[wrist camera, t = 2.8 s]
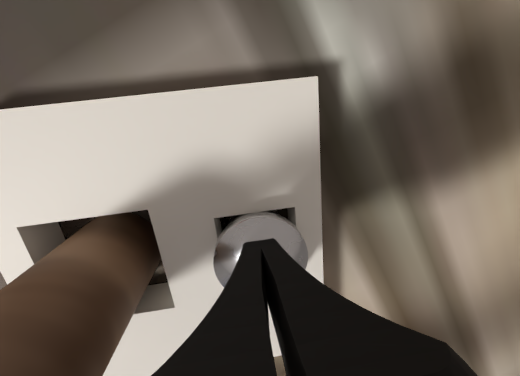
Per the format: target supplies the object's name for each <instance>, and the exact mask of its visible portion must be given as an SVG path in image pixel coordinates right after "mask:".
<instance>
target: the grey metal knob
mask: <svg viewBox="0 0 520 376" xmlns="http://www.w3.org/2000/svg"><path fill="white" fill-rule="evenodd" d="M272 238H274V239H275V240H277V242H278V243H279V244H280V245H281V246H282V248H283V249H284V250H285V251H286V252H287V253H288V254H289V255H290V256H291V257H292V258H293V259H294V260H295V261H296V262H297V263H298V264H299V265H300V266H302V267H303V268H304V269H305V270H306V267H307V262H308V250H307V246H306V243H305V241H304V239H303V237H302V235H301V233H300V232H299V230H298V229H297V227H296V226H295V225H294V224H293V223H292V222H291V221H289V220H288V219H286V218H285V217H282V216H280V214H279V213H278V212H277V210H269V211H262V212H255V213H248V214H241V215H233V216H231V218H230V220H229V222H228V226H227V227H226V228H225V229H224V230H223V231H222V233H221V234H220V236H219V238H218V239H217V242H216V246H215V251H214V258H213V265H214V271H215V274H216V277H217V279H218V280H219V282H220V283H221V285H222V286H223V287H225V285H226V284H227V282H228V280H229V278H230V276H231V274H232V272H233V270H234V268H235V266H236V263H237V261H238V259H239V256H240V253H241V250H242V245H243V244H244V243H245V242H251V241H258V240H265V239H272Z"/></svg>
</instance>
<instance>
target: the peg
mask: <svg viewBox="0 0 520 376" xmlns="http://www.w3.org/2000/svg"><path fill="white" fill-rule="evenodd" d="M160 260H161V255H160V251H159V248H158V244H157V241H156V237H155V233H154V230H153V226H152V224H151V223H149V222H148V221H147V220H145V219H144V218H142V217H140V216H138V215H135V214H132V213H128V212H127V213H119V214H112V215H104V216H98V217H96V218H94V219H93V220H92V221H90V222H89V223H88V224H86V225H85V226H84V227H82V228H81V229H80V230H78V231H77V232H76V233H75V234H73V235H72V236H71V237H69V238H68V239H67V240H65V241H64V242H63V243H61V244H60V245H59V246H58V247H56V248H55V249H54V250H52V251H51V252H50V253H48V254H47V255H46V256H44V257H43V258H42V259H40V260H39V261H38V262H37V263H35V264H34V265H33V266H31V267H30V268H29V269H27V270H26V271H25V272H23V273H22V274H21V275H19V276H18V277H17V278H16V279H14V280H13V281H12V282H10V283H9V284H8V285H6V286H5V287H4V288H2V289H1V290H0V376H103V374H104V372H105V370H106V368H107V366H108V364H109V362H110V360H111V358H112V356H113V354H114V352H115V350H116V348H117V346H118V344H119V342H120V340H121V338H122V336H123V334H124V332H125V330H126V328H127V326H128V324H129V322H130V320H131V318H132V316H133V314H134V312H135V310H136V308H137V306H138V304H139V302H140V300H141V298H142V296H143V294H144V292H145V290H146V288H147V286H148V284H149V282H150V280H151V278H152V276H153V274H154V272H155V270H156V268H157V266H158V264H159V262H160Z"/></svg>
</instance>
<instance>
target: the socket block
mask: <svg viewBox="0 0 520 376" xmlns="http://www.w3.org/2000/svg"><path fill="white" fill-rule="evenodd" d="M284 208H287V214H288V220H289V221H291V222H292V223H293V224H294V225H295V226H296V227H297V229H298V230H299V232H300V233H301V235H302V237H303V239H304V241H305V243H306V246H307V250H308V262H307V267H306V271H307V272H309V273H310V274H311V275H312V276H313V277H315V278H316V279H317V280H319V281H320V282H321V283H323V284H324V282H323V245H322V208H321V170H320V133H319V96H318V76H314V77H304V78H295V79H285V80H276V81H266V82H257V83H247V84H238V85H228V86H219V87H209V88H200V89H190V90H181V91H171V92H162V93H152V94H143V95H133V96H124V97H114V98H105V99H95V100H86V101H76V102H67V103H57V104H48V105H38V106H29V107H19V108H10V109H0V271H1V273H2V275H3V277H4V279H5V281H6V283H7V284H9V283H10V282H12V281H13V280H14V279H16V278H17V277H18V276H19V275H21V274H22V273H23V272H25V271H26V270H27V269H29V268H30V267H31V266H33V265H34V264H35V263H37V262H38V261H39V260H40V259H42V258H43V257H44V256H46V255H47V254H48V253H50V252H51V251H52V250H54V249H55V248H56V247H58V246H59V245H60V244H61V243H63V242H64V241H65V238H64V235H63V233H62V230H61V228H60V226H59V223H58V222H60V221H67V220H75V219H82V218H89V217H97V216H104V215H112V214H119V213H127V212H134V211H141V210H148V212H149V215H150V219H151V223H152V226H153V230H154V233H155V237H156V241H157V244H158V248H159V251H160V255H161V259H162V262H163V266H164V269H165V273H166V277H167V280H168V283H161V284H155V285H148V286H147V288H146V290H145V292H144V294H143V296H142V298H141V300H140V302H139V304H138V306H137V308H136V310H135V312H134V314H133V316H132V318H131V320H130V322H129V324H128V326H127V328H126V330H125V332H124V334H123V336H122V338H121V340H120V342H119V344H118V346H117V348H116V350H115V352H114V354H113V356H112V358H111V360H110V362H109V364H108V366H107V368H106V370H105V372H104V374H103V376H151V375H152V374H153V373H154V372H155V371H157V370H158V369H159V368H160V367H161V366H162V365H163V364H164V363H165V362H166V361H167V360H168V359H169V358H170V357H171V356H172V355H173V353H174V352H175V351H176V350H177V349H178V348H179V347H180V346H181V345H182V344H183V343H184V342H185V340H186V339H187V338H188V337H189V336H190V335H191V334H192V332H193V331H194V330H195V329H196V328H197V326H198V325H199V324H200V322H201V321H202V320H203V319H204V317H205V316H206V315H207V313H208V312H209V311H210V309H211V308H212V306H213V305H214V303H215V302H216V300H217V299H218V297H219V296H220V294H221V292H222V291H223V289H224V287H223V286H222V285H221V283H220V282H219V280H218V279H217V277H216V274H215V271H214V265H213V258H214V251H215V246H216V242H217V239H218V238H219V236H220V234H221V233H222V228H221V222H220V217H226V216H233V215H241V214H248V213H255V212H262V211H269V210H276V209H284ZM268 313H269V329H270V340H271V346H272V351H273V357H276V356H281V355H282V354H281V350H280V347H279V343H278V339H277V336H276V332H275V328H274V324H273V321H272V317H271V313H270V309H269V306H268Z"/></svg>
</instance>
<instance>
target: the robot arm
mask: <svg viewBox="0 0 520 376" xmlns="http://www.w3.org/2000/svg"><path fill="white" fill-rule="evenodd" d="M268 306H269V309H270V313H271V317H272V321H273V324H274V328H275V332H276V336H277V339H278V343H279V347H280V350H281V354H282V358H283V362H284V366H285V371H286V376H477V374H476V373H475V372H474V371H473V370H472V369H471V368H470V367H469V366H468V364H467V363H466V362H465V361H464V360H463V359H462V358H461V357H460V356H459V355H458V354H457V353H456V352H455V351H454V350H453V349H452V348H451V347H450V346H449V345H448V344H446V343H445V342H442V341H440V340H437V339H434V338H432V337H429V336H427V335H424V334H421V333H419V332H416V331H414V330H411V329H408V328H406V327H403V326H401V325H398V324H396V323H394V322H392V321H390V320H387V319H385V318H383V317H381V316H379V315H376V314H374V313H372V312H370V311H368V310H366V309H364V308H362V307H360V306H359V305H357V304H355V303H353V302H352V301H350V300H348V299H346V298H344V297H343V296H341V295H339V294H338V293H336V292H334V291H333V290H331V289H330V288H328V287H327V286H326V285H324V284H323V283H321V282H320V281H319V280H317V279H316V278H315V277H313V276H312V275H311V274H310V273H309V272H307V271H306V270H305V269H304V268H303V267H302V266H300V265H299V264H298V263H297V262H296V261H295V260H294V259H293V258H292V257H291V256H290V255H289V254H288V253H287V252H286V251H285V250H284V249H283V248H282V246H281V245H280V244H279V243H278V242H277V240H275V239H274V238H272V239H265V240H258V241H251V242H245V243H244V244H243V245H242V250H241V253H240V256H239V259H238V261H237V263H236V266H235V268H234V270H233V272H232V274H231V276H230V278H229V280H228V282H227V284H226V285H225V287H224V289H223V291H222V292H221V294H220V296H219V297H218V299H217V300H216V302H215V303H214V305H213V306H212V308H211V309H210V311H209V312H208V313H207V315H206V316H205V317H204V319H203V320H202V321H201V322H200V324H199V325H198V326H197V328H196V329H195V330H194V331H193V332H192V334H191V335H190V336H189V337H188V338H187V339H186V340H185V342H184V343H183V344H182V345H181V346H180V347H179V348H178V349H177V350H176V351H175V352H174V353H173V355H172V356H171V357H170V358H169V359H168V360H167V361H166V362H165V363H164V364H163V365H162V366H161V367H160V368H159V369H158V370H157V371H155V372H154V373H153V374H152V375H151V376H277V374H276V368H275V363H274V357H273V351H272V346H271V340H270V329H269V313H268Z"/></svg>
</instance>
